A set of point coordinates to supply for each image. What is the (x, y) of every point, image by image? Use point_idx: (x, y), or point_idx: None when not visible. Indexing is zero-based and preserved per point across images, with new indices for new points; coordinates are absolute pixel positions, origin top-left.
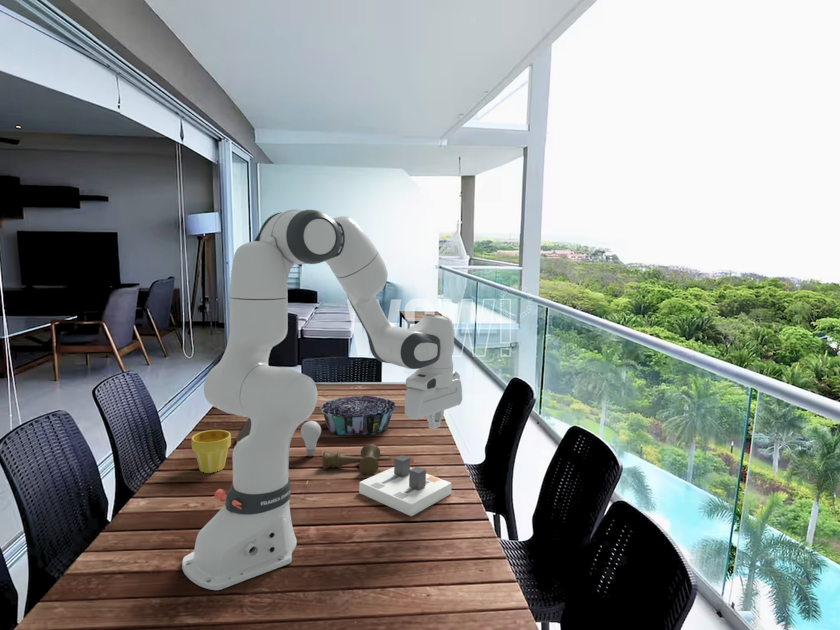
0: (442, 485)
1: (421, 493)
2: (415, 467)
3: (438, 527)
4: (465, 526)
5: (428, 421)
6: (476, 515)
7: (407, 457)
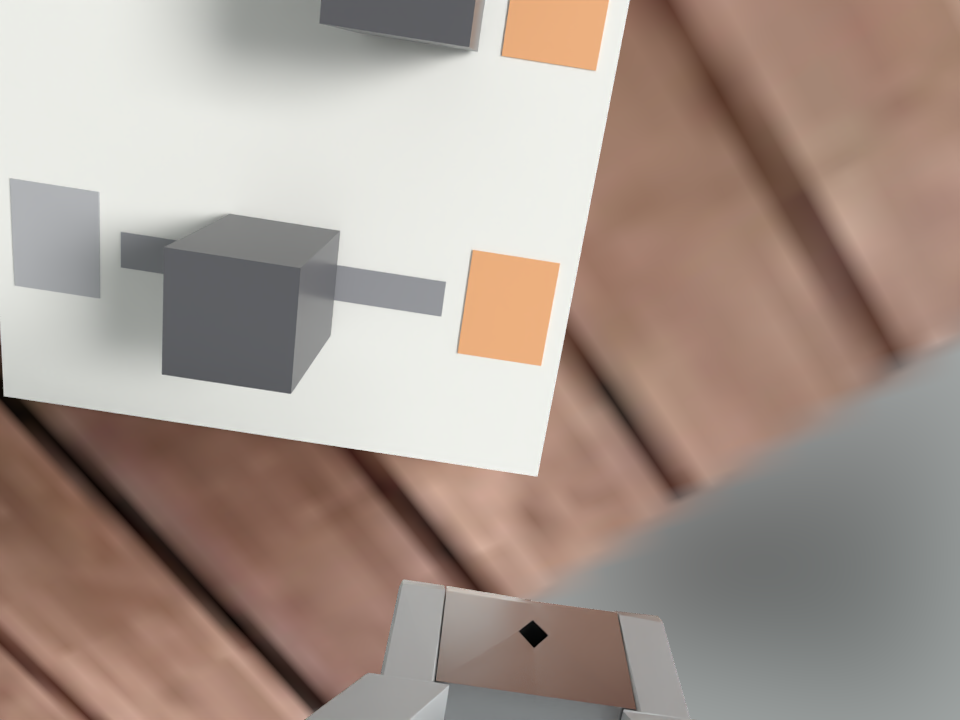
0: (446, 437)
1: None
2: (267, 266)
3: (76, 564)
4: (197, 678)
5: (355, 692)
6: (355, 680)
7: (464, 4)
